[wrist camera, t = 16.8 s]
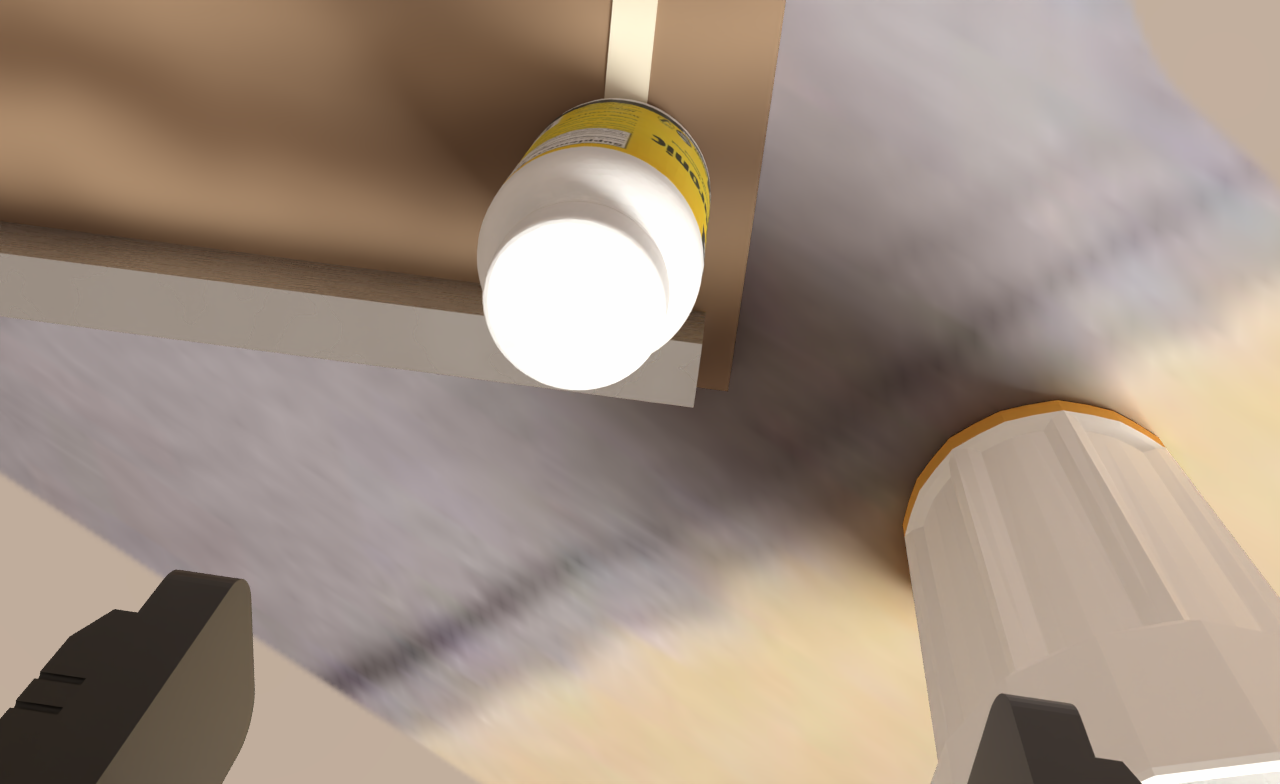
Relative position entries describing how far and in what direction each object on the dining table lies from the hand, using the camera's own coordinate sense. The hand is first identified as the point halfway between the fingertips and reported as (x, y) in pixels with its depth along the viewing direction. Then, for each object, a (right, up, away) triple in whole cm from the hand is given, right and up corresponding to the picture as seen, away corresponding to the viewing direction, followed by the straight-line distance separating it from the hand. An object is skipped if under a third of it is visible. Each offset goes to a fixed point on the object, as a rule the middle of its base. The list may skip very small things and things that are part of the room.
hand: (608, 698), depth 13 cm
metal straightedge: (-11, +6, +24) cm, 27 cm away
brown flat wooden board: (-10, +12, +23) cm, 28 cm away
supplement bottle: (0, +9, +22) cm, 23 cm away
